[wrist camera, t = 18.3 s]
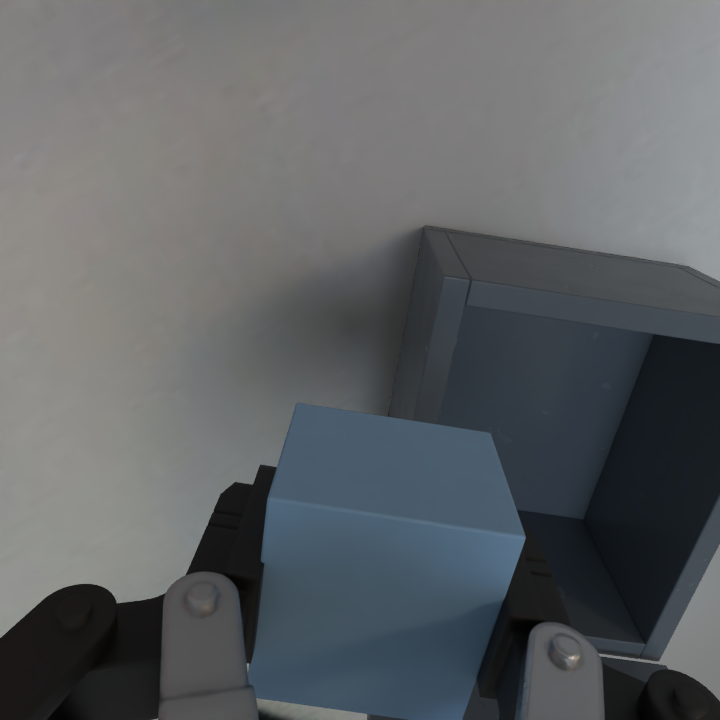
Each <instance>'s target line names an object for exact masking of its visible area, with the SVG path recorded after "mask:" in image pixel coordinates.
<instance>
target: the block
mask: <svg viewBox="0 0 720 720" xmlns="http://www.w3.org/2000/svg"><path fill="white" fill-rule="evenodd" d="M525 539H526V537H525V533H524V530H523V528H522V525H521V522H520V519H519V516H518V513H517V510H516V507H515V504H514V501H513V498H512V495H511V492H510V489H509V486H508V483H507V480H506V477H505V475H504V472H503V469H502V466H501V463H500V460H499V457H498V454H497V451H496V448H495V445H494V442H493V439H492V436H491V434H490V433H488V432H482V431H475V430H469V429H462V428H456V427H450V426H443V425H437V424H430V423H424V422H418V421H411V420H405V419H399V418H392V417H386V416H379V415H373V414H367V413H360V412H354V411H347V410H341V409H335V408H328V407H322V406H315V405H309V404H303V403H297V404H296V406H295V410H294V413H293V416H292V420H291V423H290V426H289V429H288V433H287V436H286V439H285V443H284V446H283V449H282V452H281V456H280V459H279V462H278V466H277V469H276V472H275V475H274V479H273V482H272V485H271V489H270V492H269V495H268V498H267V507H266V516H265V525H264V534H263V543H262V552H261V562H263V563H264V572H263V581H262V590H261V598H260V607H259V616H258V624H257V633H256V642H255V649H254V653H253V657H252V661H251V664H250V663H249V670H248V681H249V685H253V687H254V690H255V695H256V698H259V699H266V700H273V701H281V702H288V703H295V704H302V705H309V706H316V707H323V708H330V709H337V710H344V711H351V712H358V713H365V714H372V715H379V716H386V717H393V718H400V719H407V720H462V719H463V716H464V713H465V710H466V707H467V705H468V702H469V699H470V696H471V693H472V690H473V687H474V685H475V682H476V679H477V676H478V673H479V670H480V667H481V664H482V661H483V659H484V656H485V653H486V650H487V647H488V644H489V641H490V639H491V636H492V633H493V630H494V627H495V624H496V622H497V619H498V616H499V613H500V610H501V607H502V604H503V602H504V599H505V596H506V593H507V590H508V588H509V585H510V582H511V579H512V576H513V573H514V570H515V568H516V565H517V562H518V559H519V556H520V553H521V550H522V548H523V545H524V542H525Z"/></svg>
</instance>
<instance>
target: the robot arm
mask: <svg viewBox="0 0 720 720" xmlns="http://www.w3.org/2000/svg"><path fill="white" fill-rule="evenodd" d="M276 469H277V467H272V466H266V465H260V467H259V470H258V472H257V475H256V478H255V481H254V484H253V485H250V484H244V483H237V482H235V483H233V484H232V485H231V486H230V487H229V488H227V489H226V490H225V491H224V492H223V493H222V494H220V497H219V499H218V502H217V504H216V506H215V509H214V512H213V513H212V516H211V518H210V520H209V523H208V526H207V527H206V530H205V532H204V534H203V537H202V539H201V541H200V544H199V546H198V548H197V551H196V553H195V555H194V558H193V560H192V562H191V565H190V567H189V569H188V572H187V574H186V575H185V576H184V577H182V578H180V579H178V580H177V581H176V582H174V583H173V584H172V585H171V586H170V588H169V589H168V590H167V592H166V593H165V594H163V595H161V596H158V597H155V598H152V599H147V600H142V601H134V602H126V603H118V604H117V603H116V600H115V597H114V596H113V595H112V593H111V592H110V591H108V590H107V589H105V588H103V587H101V586H98V585H92V584H79V585H73V586H68V587H65V588H63V589H60V590H58V591H56V592H54V593H52V594H51V595H49V596H48V597H46V598H45V599H44V600H42V601H41V602H40V603H39V604H38V605H37V606H36V607H35V608H34V609H32V610H31V611H30V612H29V613H28V614H27V615H26V616H25V617H24V618H22V619H21V620H20V621H19V622H18V623H17V624H16V625H15V626H14V627H12V628H11V629H10V630H9V631H8V632H7V633H6V634H5V635H3V636H2V637H1V638H0V720H152V719H157V718H158V720H259V718H258V710H257V702H256V695H255V690H254V687H253V685H249V681H248V673H247V664H246V663H250V664H251V661H252V657H253V653H254V649H255V642H256V633H257V624H258V616H259V607H260V598H261V590H262V581H263V572H264V563H263V562H261V552H262V543H263V534H264V525H265V516H266V507H267V498H268V495H269V492H270V489H271V485H272V482H273V479H274V475H275V472H276ZM522 528H523V530H524V533H525V537H526V539H525V542H524V545H523V548H522V550H521V553H520V556H519V559H518V562H517V565H516V568H515V570H514V573H513V576H512V579H511V582H510V585H509V588H508V590H507V593H506V596H505V599H504V602H503V604H502V607H501V610H500V613H499V616H498V619H497V622H496V624H495V627H494V630H493V633H492V636H491V639H490V641H489V644H488V647H487V650H486V653H485V656H484V659H483V661H482V664H481V667H480V670H479V673H478V676H477V684H478V690H479V696H480V697H483V698H490V699H497V703H498V708H499V714H498V717H497V719H496V720H720V701H719V700H718V699H717V698H716V697H715V696H714V695H713V693H711V692H710V691H709V690H708V689H707V688H706V687H705V686H703V685H702V684H701V683H700V682H698V681H696V680H695V679H693V678H691V677H689V676H688V675H686V674H683V673H681V672H678V671H674V670H668V669H662V670H657V671H655V672H653V673H652V674H651V675H650V677H649V679H648V681H647V683H646V682H644V681H641V680H639V679H637V678H634V677H632V676H629V675H627V674H625V673H622V672H620V671H618V670H615V669H613V668H611V667H609V666H607V665H606V664H604V663H602V662H601V659H600V656H599V654H598V652H597V650H596V649H595V647H594V646H593V645H592V644H591V642H590V641H589V640H588V639H587V638H586V637H584V636H583V635H582V634H581V633H579V632H578V631H576V630H574V629H573V628H572V626H571V623H570V621H569V618H568V615H567V613H566V610H565V607H564V605H563V602H562V599H561V597H560V594H559V591H558V589H557V586H556V583H555V580H554V578H552V572H551V570H550V567H549V564H548V563H547V559H546V556H545V554H544V551H543V548H542V546H541V543H540V542H539V541H538V539H537V538H536V537H535V536H534V535H533V534H532V532H531V531H530V530H529V529H528V528H527V527H525V526H522Z"/></svg>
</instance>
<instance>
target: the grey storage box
mask: <svg viewBox="0 0 720 720" xmlns="http://www.w3.org/2000/svg"><path fill="white" fill-rule="evenodd" d="M388 417H392V418H399V419H405V420H411V421H418V422H424V423H430V424H437V425H443V426H450V427H456V428H462V429H469V430H475V431H482V432H488V433H490V434H491V436H492V439H493V442H494V445H495V448H496V451H497V454H498V457H499V460H500V463H501V466H502V469H503V472H504V475H505V477H506V480H507V483H508V486H509V489H510V492H511V495H512V498H513V501H514V504H515V507H516V510H517V513H518V516H519V519H520V522H521V525H522V526H525V527H527V528H528V529H529V530H530V531H531V532H532V534H533V535H534V536H535V537H536V538H537V539H538V541H539V542H540V543H541V546H542V548H543V551H544V554H545V556H546V559H547V563H548V564H549V567H550V570H551V572H552V578H554V580H555V583H556V586H557V589H558V591H559V594H560V597H561V599H562V602H563V605H564V607H565V610H566V613H567V615H568V618H569V621H570V623H571V626H572V628H573V629H574V630H576V631H578V632H579V633H581V634H582V635H583V636H584V637H586V638H587V639H588V640H589V641H590V642H591V644H592V645H593V646H594V647H595V649H596V650H597V652H598V653H599V654H607V655H614V656H622V657H629V658H636V659H638V658H639V659H644V660H651V661H659V660H660V658H661V656H662V654H663V652H664V651H665V649H666V647H667V645H668V643H669V641H670V639H671V637H672V635H673V633H674V631H675V629H676V627H677V625H678V623H679V622H680V620H681V618H682V616H683V614H684V612H685V610H686V608H687V606H688V604H689V602H690V600H691V598H692V596H693V594H694V593H695V590H696V589H697V587H698V585H699V583H700V581H701V579H702V577H703V575H704V573H705V571H706V569H707V567H708V565H709V563H710V562H711V559H712V557H713V556H714V554H715V552H716V550H717V548H718V546H719V544H720V281H718V280H716V279H714V278H711V277H709V276H707V275H705V274H703V273H701V272H699V271H697V270H695V269H693V268H691V267H689V266H684V265H678V264H671V263H665V262H658V261H652V260H645V259H639V258H632V257H626V256H619V255H613V254H606V253H600V252H593V251H587V250H580V249H574V248H567V247H561V246H555V245H548V244H542V243H535V242H529V241H522V240H516V239H509V238H503V237H496V236H490V235H483V234H477V233H470V232H464V231H457V230H451V229H444V228H438V227H432V226H424V228H423V233H422V238H421V244H420V249H419V254H418V259H417V265H416V270H415V275H414V281H413V286H412V291H411V296H410V302H409V307H408V312H407V318H406V323H405V328H404V333H403V339H402V344H401V349H400V355H399V360H398V365H397V370H396V376H395V381H394V386H393V392H392V397H391V402H390V407H389V413H388Z"/></svg>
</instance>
